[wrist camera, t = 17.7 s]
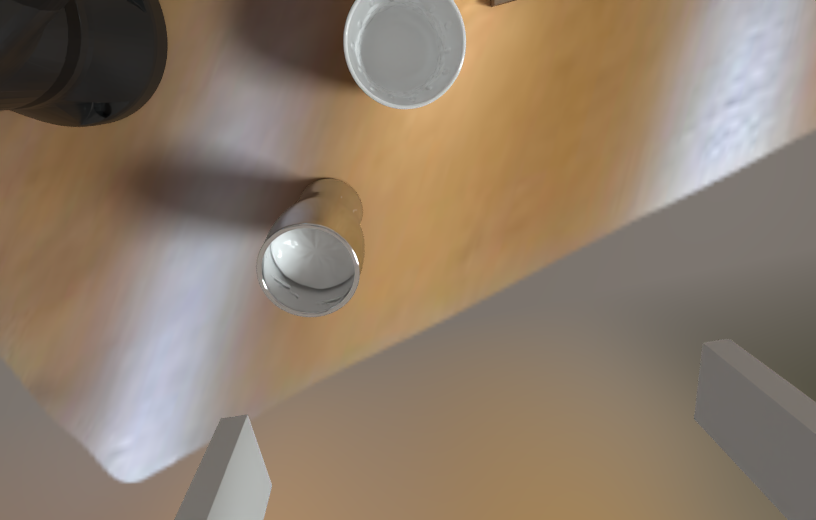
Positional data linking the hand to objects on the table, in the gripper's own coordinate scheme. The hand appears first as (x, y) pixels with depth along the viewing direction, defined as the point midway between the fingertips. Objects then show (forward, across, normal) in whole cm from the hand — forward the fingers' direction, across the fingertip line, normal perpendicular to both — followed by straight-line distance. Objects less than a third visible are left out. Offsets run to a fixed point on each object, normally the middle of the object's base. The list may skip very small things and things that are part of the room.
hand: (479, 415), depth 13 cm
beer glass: (+32, -8, -1) cm, 33 cm away
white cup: (+32, +1, +11) cm, 34 cm away
